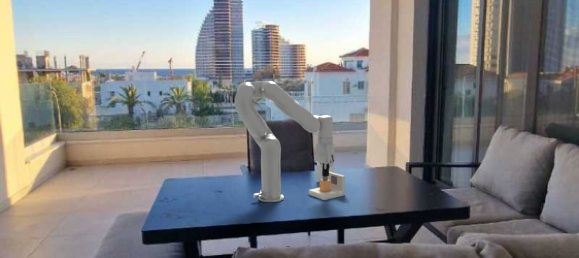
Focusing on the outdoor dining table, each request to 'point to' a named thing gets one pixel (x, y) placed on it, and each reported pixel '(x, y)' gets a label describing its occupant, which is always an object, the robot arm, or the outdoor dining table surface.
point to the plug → (325, 184)
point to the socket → (336, 187)
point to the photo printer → (319, 171)
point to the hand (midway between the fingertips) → (325, 175)
